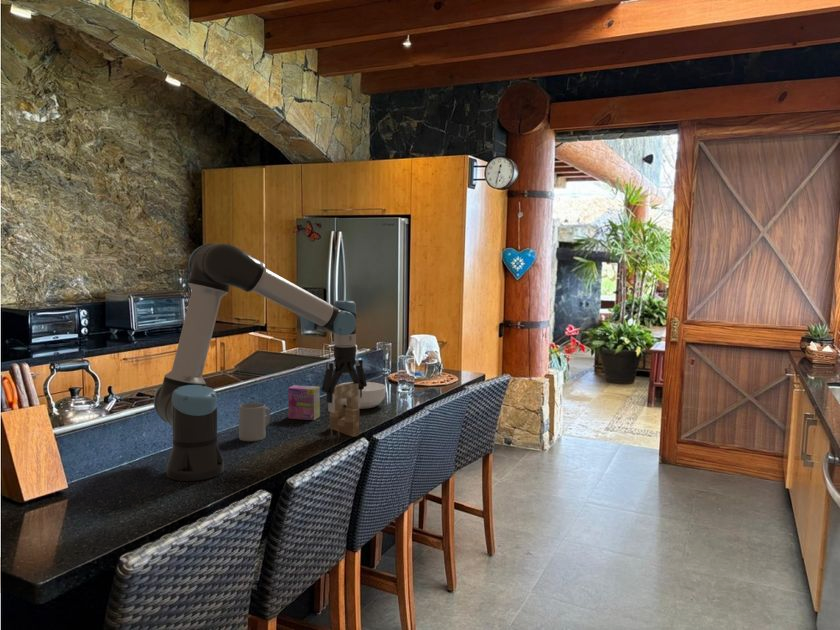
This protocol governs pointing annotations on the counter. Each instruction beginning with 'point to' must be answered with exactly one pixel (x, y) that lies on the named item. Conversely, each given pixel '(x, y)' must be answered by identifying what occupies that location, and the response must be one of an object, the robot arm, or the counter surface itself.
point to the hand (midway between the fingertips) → (344, 409)
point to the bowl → (370, 395)
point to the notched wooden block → (346, 421)
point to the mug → (253, 421)
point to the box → (304, 402)
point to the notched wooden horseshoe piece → (346, 395)
